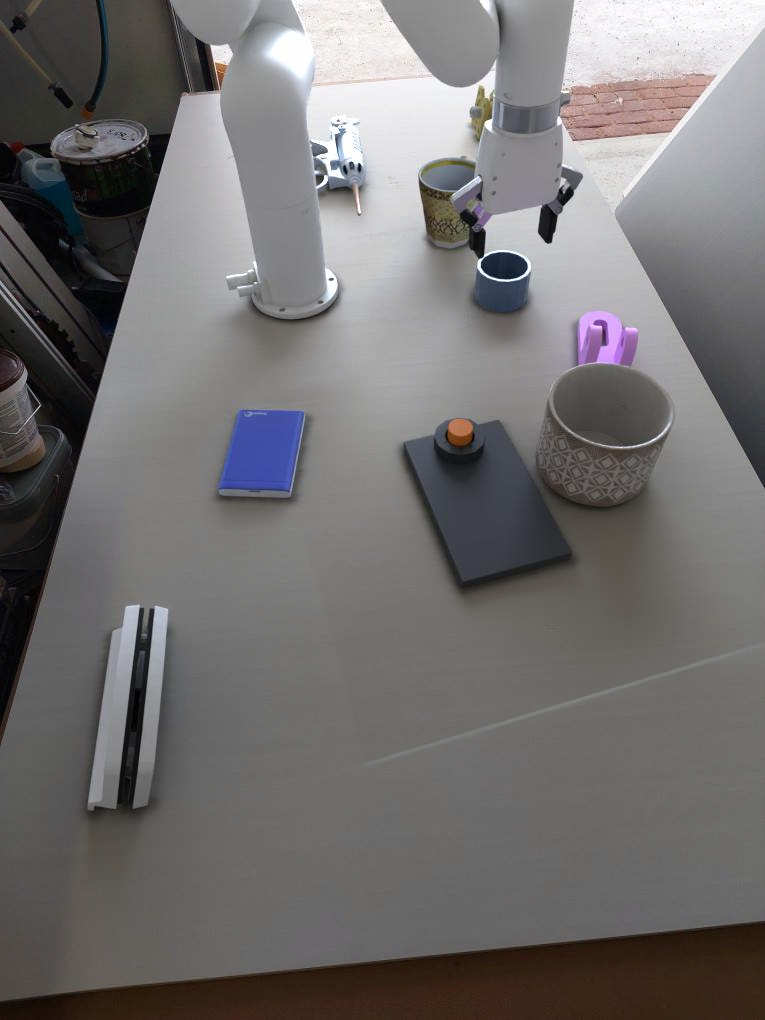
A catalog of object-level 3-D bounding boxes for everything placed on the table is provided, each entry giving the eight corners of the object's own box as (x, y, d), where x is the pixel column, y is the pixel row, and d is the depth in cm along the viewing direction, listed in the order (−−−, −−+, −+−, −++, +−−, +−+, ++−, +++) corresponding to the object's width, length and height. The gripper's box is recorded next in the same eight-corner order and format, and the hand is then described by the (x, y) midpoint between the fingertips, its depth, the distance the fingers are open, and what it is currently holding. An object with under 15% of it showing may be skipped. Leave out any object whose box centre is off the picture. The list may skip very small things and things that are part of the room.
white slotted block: (112, 635, 68) (115, 582, 61) (162, 637, 69) (171, 586, 62) (87, 814, 58) (86, 777, 50) (146, 813, 59) (154, 776, 52)
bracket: (624, 385, 87) (639, 341, 82) (579, 382, 88) (591, 338, 82) (618, 320, 95) (631, 276, 89) (576, 318, 96) (587, 274, 90)
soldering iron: (277, 149, 129) (361, 134, 128) (282, 244, 114) (378, 227, 113) (269, 118, 124) (356, 102, 123) (274, 213, 109) (373, 195, 108)
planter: (664, 503, 76) (696, 439, 68) (553, 520, 75) (572, 457, 67) (622, 422, 83) (645, 355, 75) (520, 436, 82) (533, 370, 74)
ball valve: (509, 118, 134) (460, 115, 132) (525, 60, 125) (472, 56, 124) (525, 153, 127) (473, 150, 125) (542, 94, 119) (486, 90, 117)
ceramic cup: (472, 259, 105) (477, 195, 97) (409, 248, 107) (409, 185, 99) (491, 214, 112) (498, 152, 104) (432, 205, 114) (434, 144, 106)
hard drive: (238, 408, 85) (217, 487, 77) (304, 410, 84) (289, 489, 77) (240, 417, 86) (220, 496, 78) (305, 419, 85) (291, 498, 78)
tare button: (452, 449, 78) (453, 438, 77) (444, 432, 80) (444, 421, 78) (475, 443, 78) (476, 433, 77) (466, 426, 80) (467, 416, 79)
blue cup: (485, 316, 96) (488, 286, 92) (467, 286, 101) (469, 255, 97) (534, 306, 97) (540, 275, 93) (514, 276, 102) (518, 246, 98)
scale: (461, 589, 70) (463, 573, 68) (402, 447, 82) (402, 430, 80) (570, 559, 72) (575, 543, 69) (496, 425, 84) (499, 407, 81)
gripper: (580, 84, 82) (558, 218, 96) (443, 110, 80) (440, 244, 94) (610, 110, 78) (583, 247, 91) (465, 138, 76) (459, 274, 89)
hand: (511, 245), depth 93 cm, fingers open, 9 cm apart
